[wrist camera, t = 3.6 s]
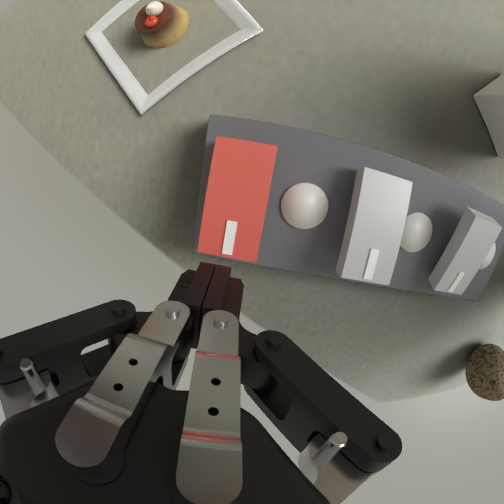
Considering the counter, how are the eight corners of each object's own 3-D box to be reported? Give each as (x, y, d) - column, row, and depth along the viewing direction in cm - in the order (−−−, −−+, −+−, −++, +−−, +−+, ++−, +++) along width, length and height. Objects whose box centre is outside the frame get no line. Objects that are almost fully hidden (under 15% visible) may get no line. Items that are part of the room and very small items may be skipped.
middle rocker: (402, 182, 17) (413, 182, 15) (381, 279, 18) (389, 286, 17) (357, 168, 17) (365, 166, 15) (335, 271, 18) (341, 278, 17)
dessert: (146, 115, 21) (119, 114, 16) (90, 35, 17) (61, 25, 12) (264, 34, 17) (262, 13, 13) (190, -40, 13) (176, -64, 9)
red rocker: (276, 149, 17) (277, 145, 15) (256, 256, 18) (256, 263, 17) (219, 140, 17) (216, 135, 15) (201, 247, 18) (196, 252, 17)
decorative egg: (464, 342, 28) (495, 392, 19) (497, 327, 27) (530, 370, 18) (452, 374, 31) (476, 421, 22) (485, 359, 30) (510, 401, 21)
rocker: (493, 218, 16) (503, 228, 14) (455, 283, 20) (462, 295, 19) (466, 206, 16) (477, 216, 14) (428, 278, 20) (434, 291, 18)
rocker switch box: (491, 199, 20) (516, 211, 17) (460, 282, 25) (479, 302, 21) (220, 117, 20) (209, 114, 16) (204, 233, 24) (191, 254, 20)
